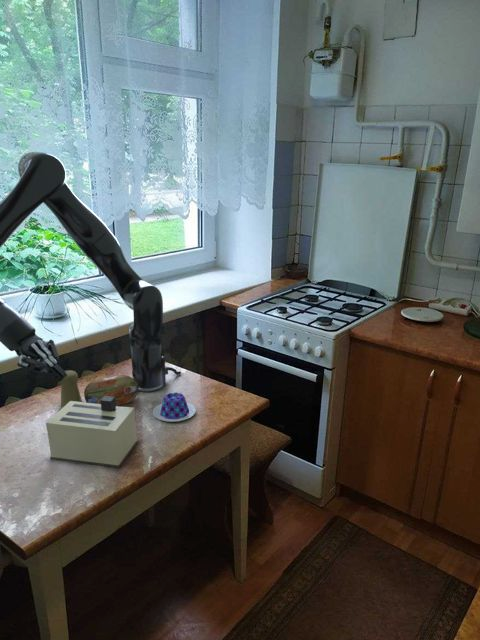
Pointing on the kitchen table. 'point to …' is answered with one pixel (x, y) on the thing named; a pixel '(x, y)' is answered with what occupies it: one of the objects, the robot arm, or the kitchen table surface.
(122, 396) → the tin
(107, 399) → the slider button
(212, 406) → the kitchen table surface
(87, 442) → the toaster
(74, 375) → the pepper mill
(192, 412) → the pudding
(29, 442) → the kitchen table surface
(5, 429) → the kitchen table surface
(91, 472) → the kitchen table surface
